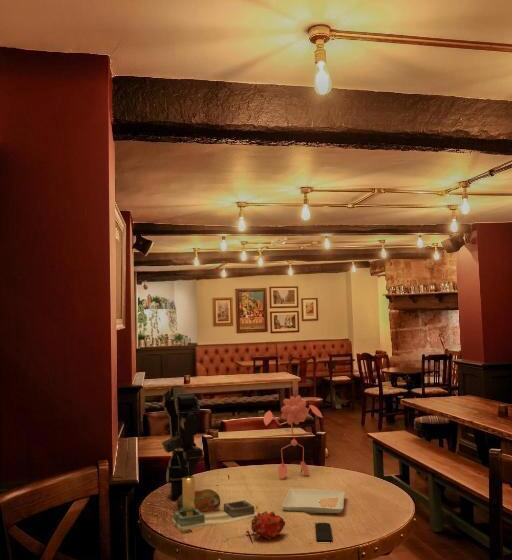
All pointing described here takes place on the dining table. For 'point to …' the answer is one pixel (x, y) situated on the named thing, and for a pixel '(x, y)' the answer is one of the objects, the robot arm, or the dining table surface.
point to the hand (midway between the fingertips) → (186, 473)
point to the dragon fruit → (267, 525)
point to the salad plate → (312, 500)
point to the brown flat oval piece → (203, 501)
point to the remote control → (323, 532)
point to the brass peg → (188, 496)
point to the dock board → (214, 516)
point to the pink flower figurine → (295, 414)
